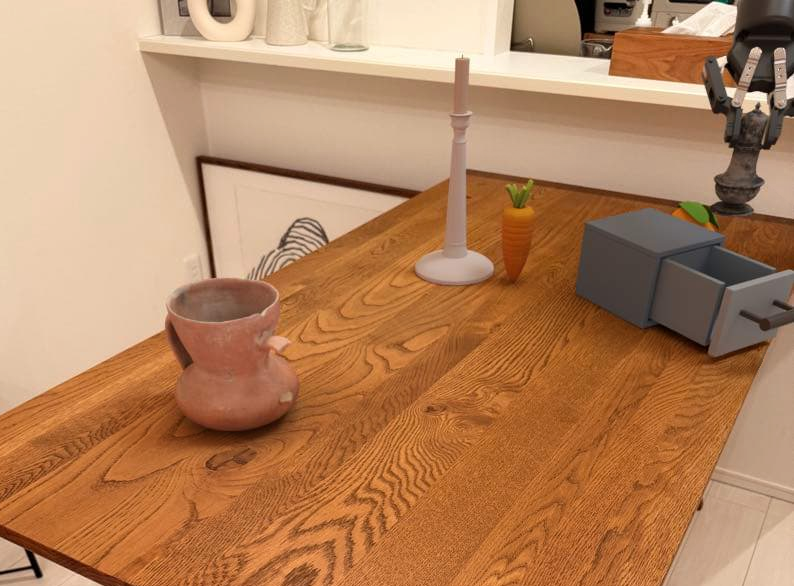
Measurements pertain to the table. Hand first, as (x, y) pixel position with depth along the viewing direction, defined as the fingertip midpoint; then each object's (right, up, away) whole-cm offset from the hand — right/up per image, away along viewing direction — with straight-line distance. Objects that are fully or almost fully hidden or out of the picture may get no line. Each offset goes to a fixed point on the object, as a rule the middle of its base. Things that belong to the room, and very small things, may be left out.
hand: (750, 144), depth 89 cm
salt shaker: (+1, -5, +7) cm, 8 cm away
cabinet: (-5, -11, +25) cm, 27 cm away
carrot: (-23, -6, +31) cm, 39 cm away
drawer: (+2, -19, +14) cm, 23 cm away
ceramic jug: (-61, -31, +3) cm, 68 cm away
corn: (+8, +1, +38) cm, 39 cm away
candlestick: (-32, -2, +35) cm, 48 cm away
